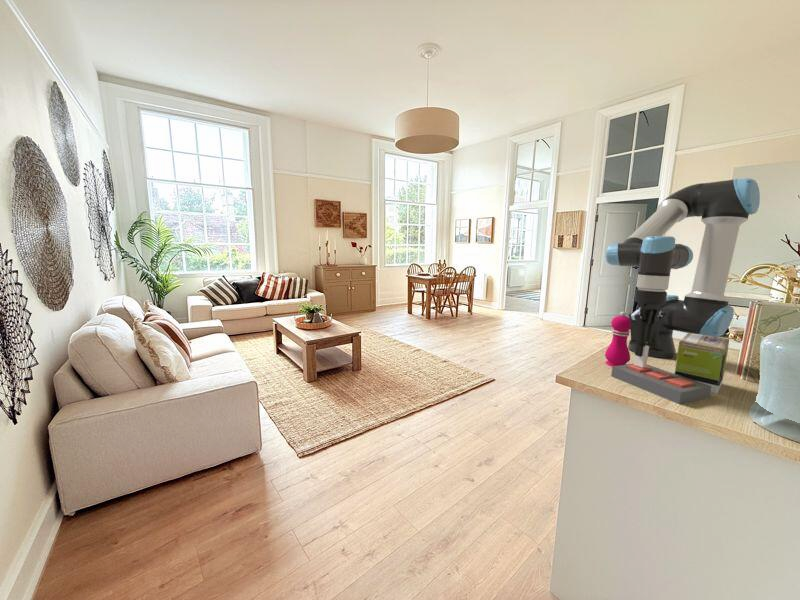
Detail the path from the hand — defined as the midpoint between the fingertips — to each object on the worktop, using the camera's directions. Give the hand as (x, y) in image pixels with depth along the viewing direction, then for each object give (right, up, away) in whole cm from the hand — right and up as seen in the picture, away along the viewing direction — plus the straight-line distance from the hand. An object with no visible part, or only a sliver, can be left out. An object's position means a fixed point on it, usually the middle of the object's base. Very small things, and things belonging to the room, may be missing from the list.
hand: (639, 365), depth 101 cm
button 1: (0, -4, +1) cm, 4 cm away
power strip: (+1, -6, -1) cm, 6 cm away
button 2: (+2, -5, -4) cm, 7 cm away
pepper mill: (+1, -4, +13) cm, 13 cm away
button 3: (+4, -6, -9) cm, 12 cm away
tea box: (+17, -6, 0) cm, 18 cm away
